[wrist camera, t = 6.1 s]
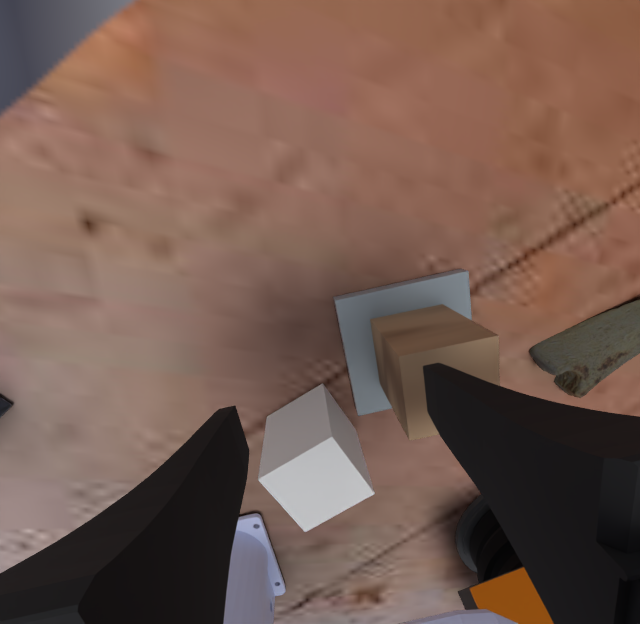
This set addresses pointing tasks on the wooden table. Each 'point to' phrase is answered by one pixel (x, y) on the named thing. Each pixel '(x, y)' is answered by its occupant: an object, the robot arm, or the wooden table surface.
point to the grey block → (313, 459)
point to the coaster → (384, 302)
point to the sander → (496, 569)
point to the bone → (591, 349)
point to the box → (4, 406)
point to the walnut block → (428, 358)
